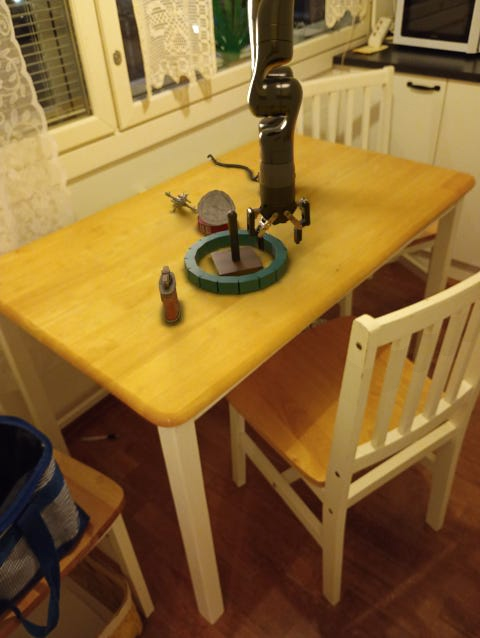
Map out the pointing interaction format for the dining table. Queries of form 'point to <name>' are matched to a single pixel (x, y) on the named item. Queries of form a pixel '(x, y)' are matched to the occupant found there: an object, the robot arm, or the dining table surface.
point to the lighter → (169, 296)
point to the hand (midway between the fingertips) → (279, 246)
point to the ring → (231, 282)
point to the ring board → (236, 266)
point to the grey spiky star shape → (180, 201)
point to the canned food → (214, 212)
